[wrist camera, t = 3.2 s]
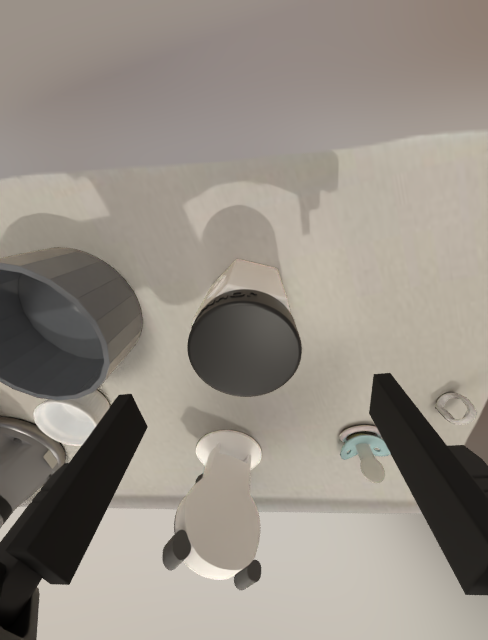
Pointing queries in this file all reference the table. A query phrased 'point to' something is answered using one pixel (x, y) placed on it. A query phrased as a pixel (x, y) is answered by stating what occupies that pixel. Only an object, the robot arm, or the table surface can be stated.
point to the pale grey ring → (440, 407)
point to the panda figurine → (219, 513)
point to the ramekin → (71, 417)
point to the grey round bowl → (63, 322)
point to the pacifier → (365, 450)
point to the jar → (245, 332)
